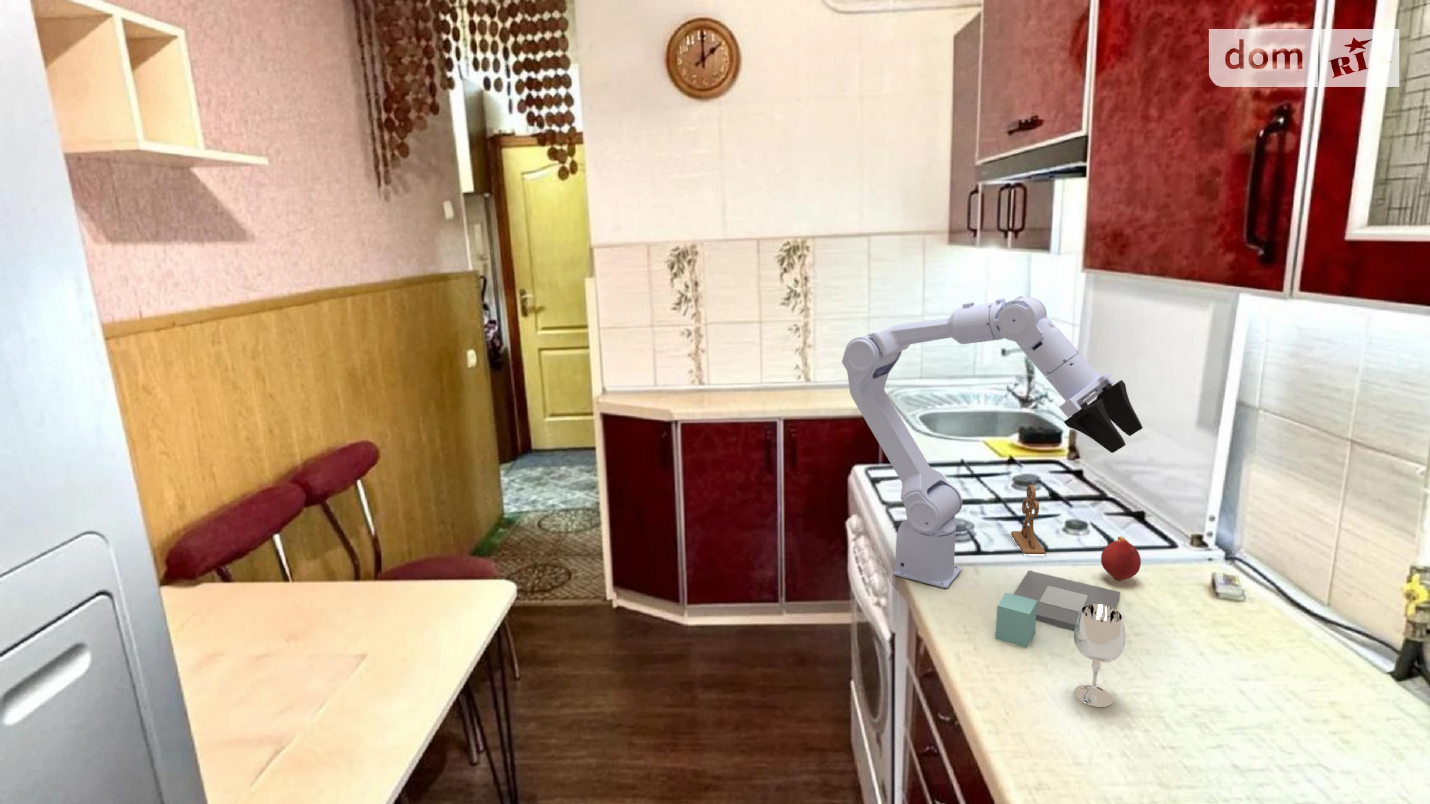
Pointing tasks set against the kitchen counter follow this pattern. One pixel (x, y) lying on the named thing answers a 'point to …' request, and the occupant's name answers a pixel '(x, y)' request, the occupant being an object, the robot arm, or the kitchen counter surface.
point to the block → (1016, 619)
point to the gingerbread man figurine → (1026, 535)
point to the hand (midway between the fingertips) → (1127, 440)
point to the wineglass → (1098, 646)
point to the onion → (1121, 559)
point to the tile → (1062, 597)
